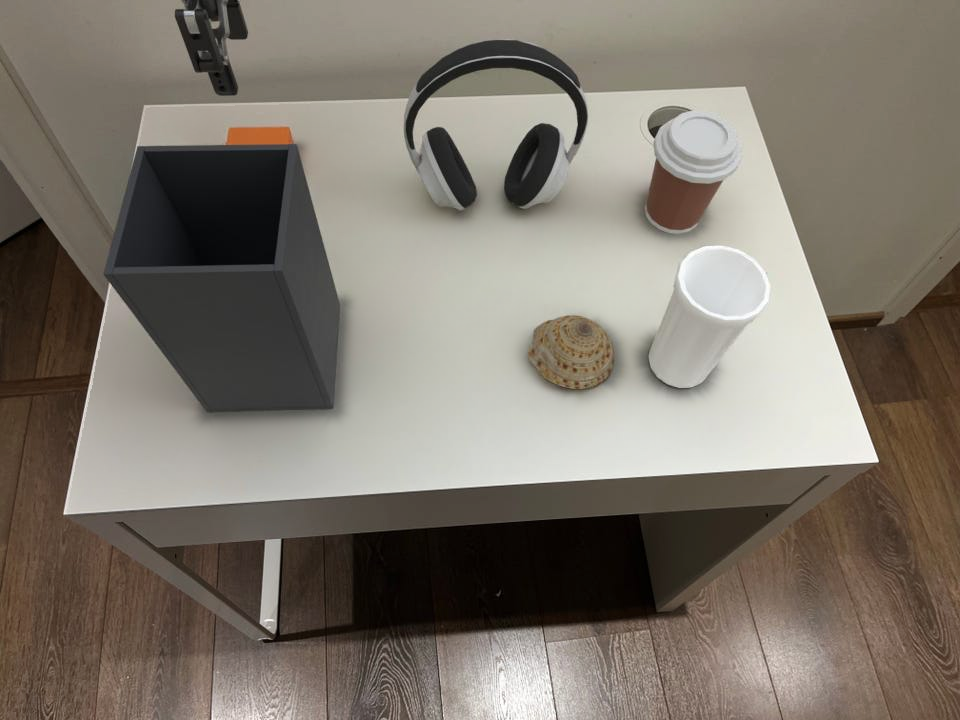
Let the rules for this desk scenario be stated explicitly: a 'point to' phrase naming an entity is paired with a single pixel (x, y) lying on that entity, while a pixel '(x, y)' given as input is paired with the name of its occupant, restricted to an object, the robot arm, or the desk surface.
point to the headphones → (538, 154)
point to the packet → (259, 135)
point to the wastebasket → (230, 274)
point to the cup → (707, 313)
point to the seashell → (572, 352)
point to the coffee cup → (690, 168)
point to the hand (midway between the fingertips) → (233, 64)
